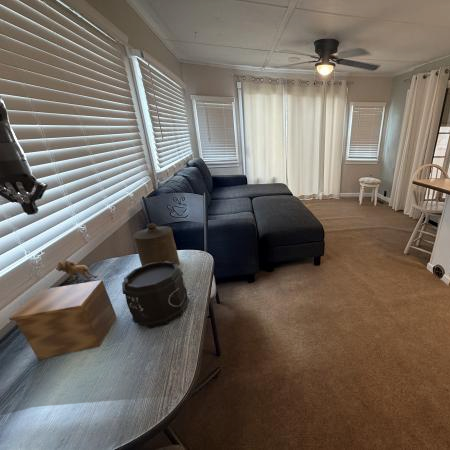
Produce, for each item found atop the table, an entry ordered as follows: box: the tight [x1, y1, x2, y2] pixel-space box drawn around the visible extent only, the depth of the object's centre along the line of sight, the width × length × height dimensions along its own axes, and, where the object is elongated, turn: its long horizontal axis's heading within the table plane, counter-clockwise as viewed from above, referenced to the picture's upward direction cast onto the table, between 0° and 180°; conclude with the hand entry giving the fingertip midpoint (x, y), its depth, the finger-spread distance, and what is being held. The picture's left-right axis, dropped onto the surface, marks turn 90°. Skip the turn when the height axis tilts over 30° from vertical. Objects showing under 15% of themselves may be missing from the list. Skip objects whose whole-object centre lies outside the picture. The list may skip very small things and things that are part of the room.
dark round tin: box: [121, 261, 190, 329], centre depth 81 cm, size 18×18×16 cm
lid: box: [8, 279, 104, 322], centre depth 69 cm, size 16×13×1 cm
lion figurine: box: [55, 259, 98, 282], centre depth 103 cm, size 15×5×9 cm, turn 90°
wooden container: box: [133, 222, 181, 266], centre depth 107 cm, size 15×15×22 cm
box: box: [14, 282, 118, 361], centre depth 71 cm, size 15×13×14 cm
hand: (32, 213), depth 77 cm, fingers closed
